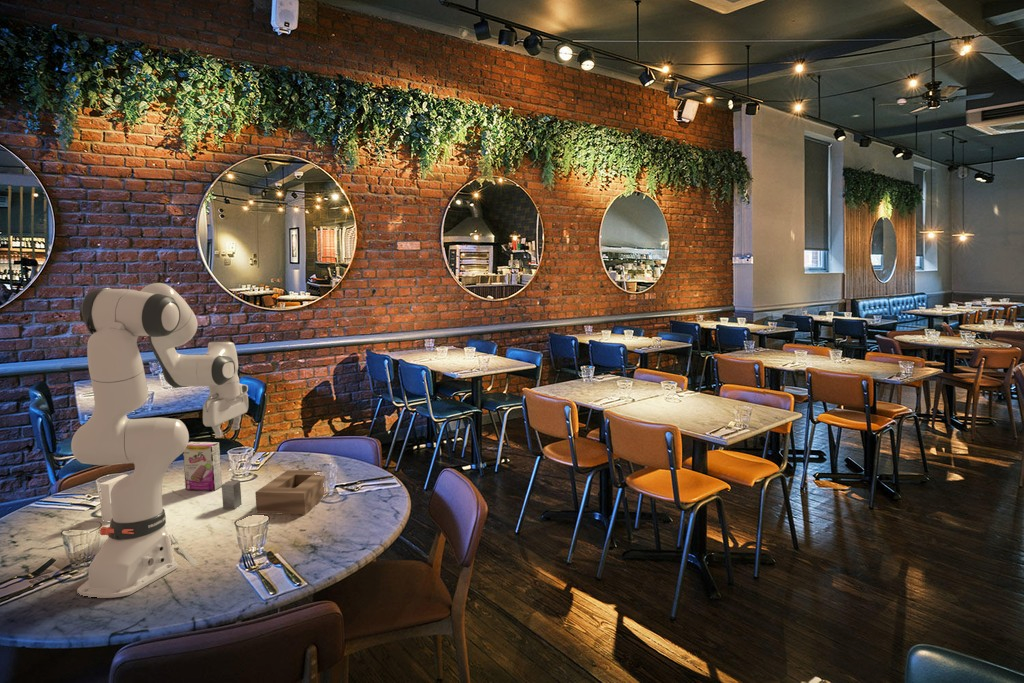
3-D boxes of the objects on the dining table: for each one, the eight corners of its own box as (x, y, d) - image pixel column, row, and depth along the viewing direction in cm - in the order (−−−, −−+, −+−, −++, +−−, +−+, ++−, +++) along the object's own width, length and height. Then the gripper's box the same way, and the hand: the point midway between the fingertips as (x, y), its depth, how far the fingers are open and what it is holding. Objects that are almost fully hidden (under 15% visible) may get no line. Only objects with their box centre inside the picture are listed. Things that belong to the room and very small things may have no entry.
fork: (192, 570, 159) (192, 563, 159) (161, 543, 176) (161, 537, 176) (205, 566, 162) (205, 559, 161) (174, 539, 178) (173, 533, 178)
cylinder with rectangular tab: (119, 522, 190) (116, 485, 189) (94, 521, 192) (91, 483, 191) (142, 511, 199) (139, 475, 198) (118, 510, 201) (115, 474, 199)
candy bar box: (184, 490, 218) (181, 445, 216) (193, 485, 223) (190, 441, 221) (215, 491, 217) (211, 445, 215) (223, 486, 222) (219, 441, 220)
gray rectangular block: (234, 509, 200) (233, 485, 199) (223, 509, 200) (221, 485, 199) (241, 504, 204) (240, 481, 203) (230, 504, 204) (228, 480, 203)
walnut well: (305, 514, 194) (304, 493, 193) (256, 513, 196) (255, 492, 195) (332, 490, 216) (331, 470, 215) (288, 489, 217) (287, 469, 217)
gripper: (215, 397, 187) (218, 442, 189) (250, 385, 207) (253, 425, 209) (195, 397, 188) (198, 442, 189) (232, 384, 208) (235, 425, 209)
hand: (227, 433), depth 199 cm, fingers open, 8 cm apart
